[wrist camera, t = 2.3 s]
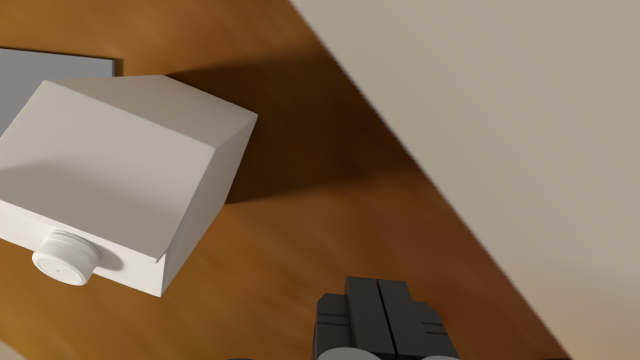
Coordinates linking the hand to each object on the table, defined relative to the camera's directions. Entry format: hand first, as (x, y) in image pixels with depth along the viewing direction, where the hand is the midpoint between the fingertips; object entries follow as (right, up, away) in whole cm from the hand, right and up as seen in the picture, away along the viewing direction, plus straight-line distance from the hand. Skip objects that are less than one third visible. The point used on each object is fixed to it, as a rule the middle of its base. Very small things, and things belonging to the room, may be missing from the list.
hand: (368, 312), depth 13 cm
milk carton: (-10, +6, +23) cm, 25 cm away
